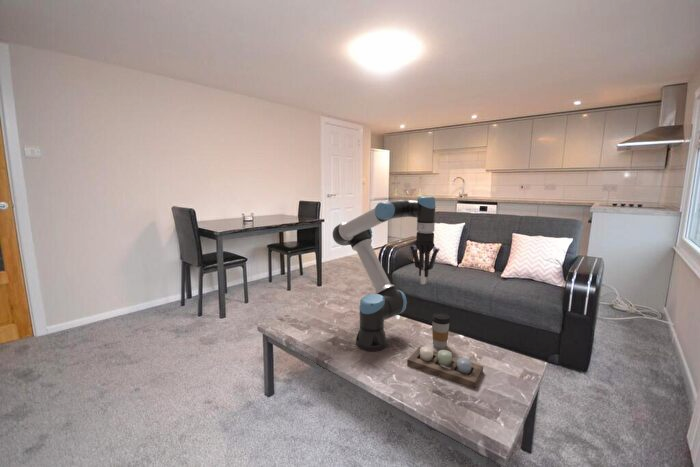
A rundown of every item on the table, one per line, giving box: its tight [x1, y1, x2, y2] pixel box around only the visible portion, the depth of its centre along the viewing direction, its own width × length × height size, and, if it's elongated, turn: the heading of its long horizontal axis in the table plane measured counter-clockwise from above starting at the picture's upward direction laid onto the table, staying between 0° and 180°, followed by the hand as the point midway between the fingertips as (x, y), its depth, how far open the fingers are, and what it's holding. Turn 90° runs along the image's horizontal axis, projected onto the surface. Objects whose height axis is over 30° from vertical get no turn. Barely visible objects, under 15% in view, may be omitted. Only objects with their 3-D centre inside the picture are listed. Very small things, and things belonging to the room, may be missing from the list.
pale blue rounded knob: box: [456, 357, 473, 375], centre depth 131 cm, size 6×6×4 cm
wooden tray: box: [406, 346, 484, 389], centre depth 136 cm, size 28×13×2 cm, turn 56°
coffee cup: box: [431, 312, 451, 350], centre depth 153 cm, size 8×8×15 cm
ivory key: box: [420, 346, 434, 363], centre depth 140 cm, size 6×6×4 cm
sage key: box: [437, 349, 453, 367], centre depth 135 cm, size 6×6×4 cm
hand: (423, 283), depth 145 cm, fingers closed
